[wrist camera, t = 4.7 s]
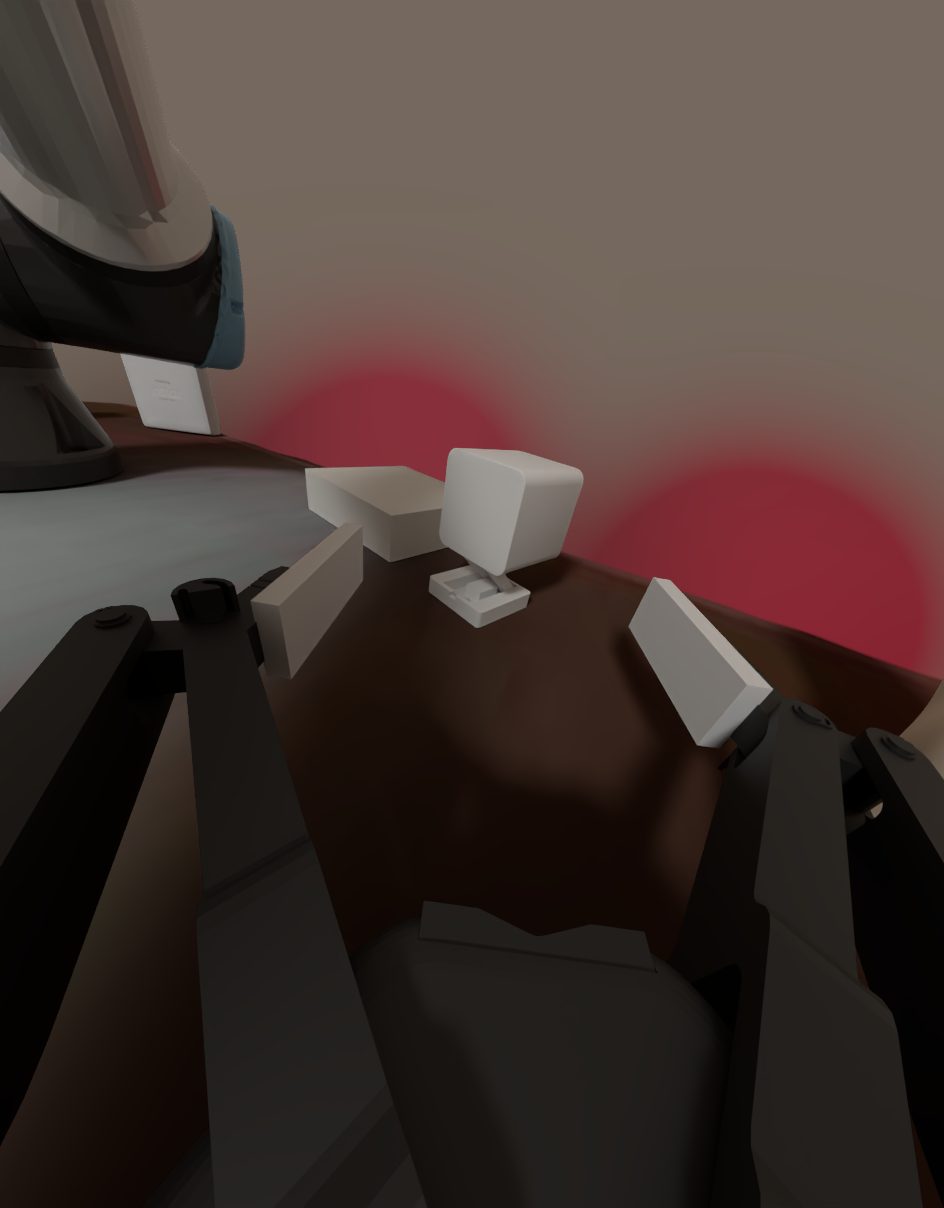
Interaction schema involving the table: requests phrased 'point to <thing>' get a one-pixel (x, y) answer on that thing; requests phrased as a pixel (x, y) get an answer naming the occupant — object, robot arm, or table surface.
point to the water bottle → (927, 734)
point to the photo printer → (172, 395)
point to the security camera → (500, 526)
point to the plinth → (381, 506)
